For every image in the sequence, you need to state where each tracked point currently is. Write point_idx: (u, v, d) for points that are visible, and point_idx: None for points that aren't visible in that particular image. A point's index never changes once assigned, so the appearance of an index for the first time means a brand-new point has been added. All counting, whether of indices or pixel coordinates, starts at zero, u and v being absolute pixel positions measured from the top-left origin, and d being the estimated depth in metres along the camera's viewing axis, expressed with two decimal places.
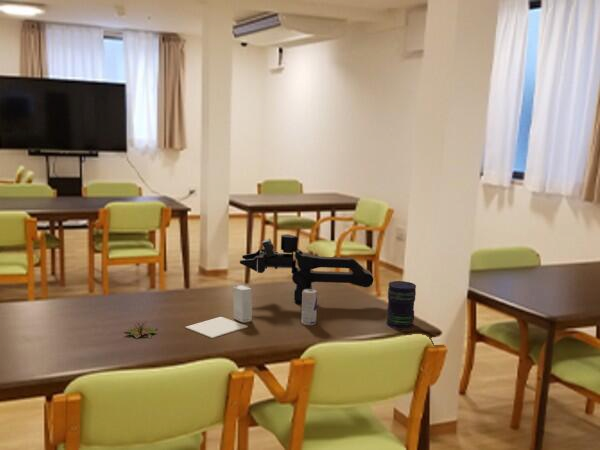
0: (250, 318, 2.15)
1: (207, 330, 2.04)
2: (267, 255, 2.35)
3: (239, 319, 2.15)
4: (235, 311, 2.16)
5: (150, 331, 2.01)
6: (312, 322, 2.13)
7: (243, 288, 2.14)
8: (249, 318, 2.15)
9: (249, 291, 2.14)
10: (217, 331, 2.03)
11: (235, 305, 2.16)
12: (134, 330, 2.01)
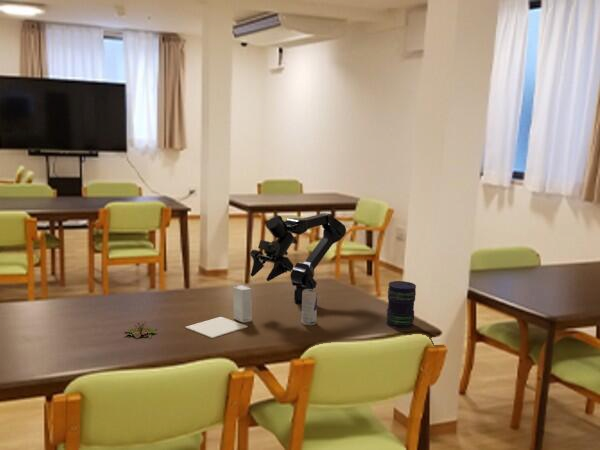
0: (250, 318, 2.15)
1: (207, 330, 2.04)
2: (276, 253, 2.22)
3: (239, 319, 2.15)
4: (235, 311, 2.16)
5: (150, 331, 2.01)
6: (312, 322, 2.13)
7: (243, 288, 2.14)
8: (249, 318, 2.15)
9: (249, 291, 2.14)
10: (217, 331, 2.03)
11: (235, 305, 2.16)
12: (134, 330, 2.01)
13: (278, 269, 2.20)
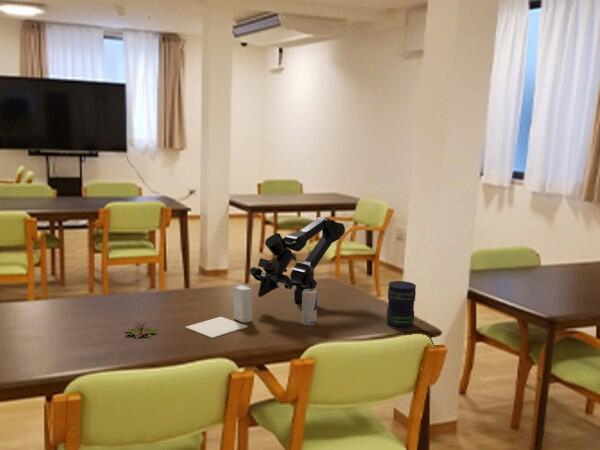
0: (250, 318, 2.15)
1: (207, 330, 2.04)
2: (276, 270, 2.23)
3: (239, 319, 2.15)
4: (235, 311, 2.16)
5: (150, 331, 2.01)
6: (312, 322, 2.13)
7: (243, 288, 2.14)
8: (249, 318, 2.15)
9: (249, 291, 2.14)
10: (217, 331, 2.03)
11: (235, 305, 2.16)
12: (134, 330, 2.01)
13: (270, 285, 2.24)
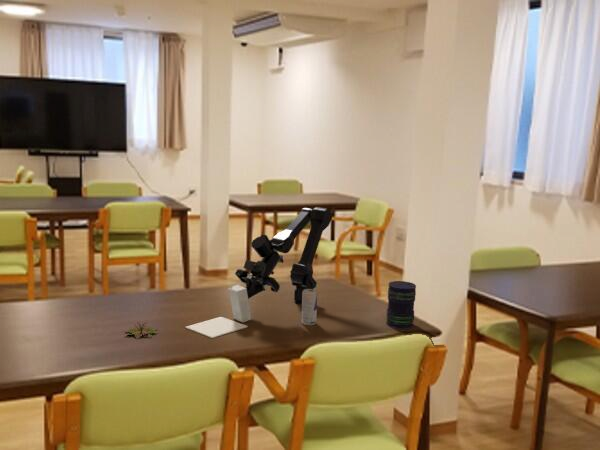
0: (249, 317, 2.15)
1: (207, 330, 2.04)
2: (262, 273, 2.17)
3: (239, 319, 2.15)
4: (234, 311, 2.16)
5: (150, 331, 2.01)
6: (312, 322, 2.13)
7: (238, 289, 2.12)
8: (248, 317, 2.15)
9: (244, 291, 2.12)
10: (217, 331, 2.03)
11: (233, 306, 2.15)
12: (134, 330, 2.01)
13: (256, 287, 2.18)
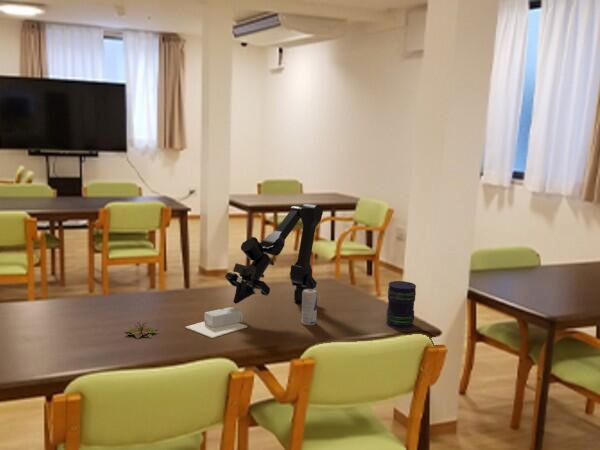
0: (240, 313, 2.12)
1: (207, 330, 2.04)
2: (252, 276, 2.14)
3: None
4: None
5: (151, 331, 2.01)
6: (312, 322, 2.13)
7: (210, 322, 2.07)
8: (240, 314, 2.12)
9: (215, 318, 2.06)
10: (217, 331, 2.03)
11: None
12: (134, 330, 2.01)
13: (246, 291, 2.15)
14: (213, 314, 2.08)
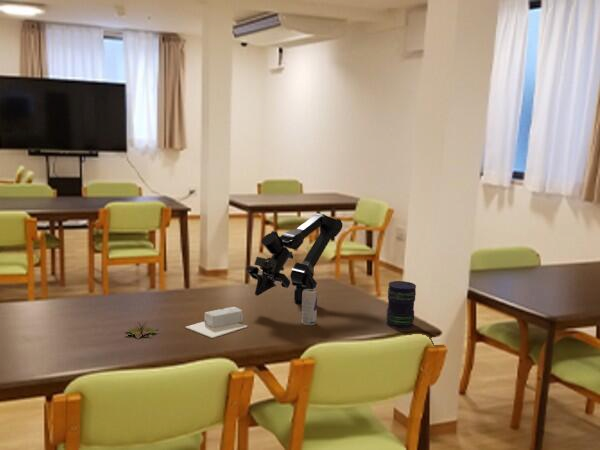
0: (240, 313, 2.12)
1: (207, 330, 2.04)
2: (273, 269, 2.21)
3: None
4: None
5: (151, 331, 2.01)
6: (312, 322, 2.13)
7: (210, 322, 2.07)
8: (240, 314, 2.12)
9: (215, 318, 2.06)
10: (217, 331, 2.03)
11: None
12: (135, 330, 2.01)
13: (267, 283, 2.22)
14: (213, 314, 2.08)
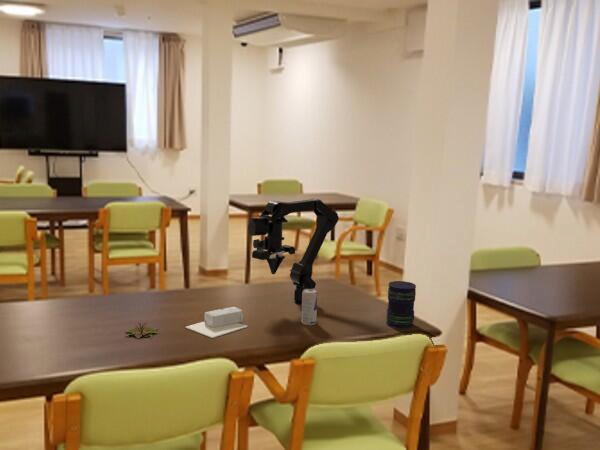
0: (240, 313, 2.12)
1: (207, 330, 2.04)
2: (264, 246, 2.29)
3: None
4: None
5: (151, 331, 2.01)
6: (312, 322, 2.13)
7: (210, 322, 2.07)
8: (240, 314, 2.12)
9: (215, 318, 2.06)
10: (217, 331, 2.03)
11: None
12: (135, 330, 2.01)
13: (272, 260, 2.29)
14: (213, 314, 2.08)
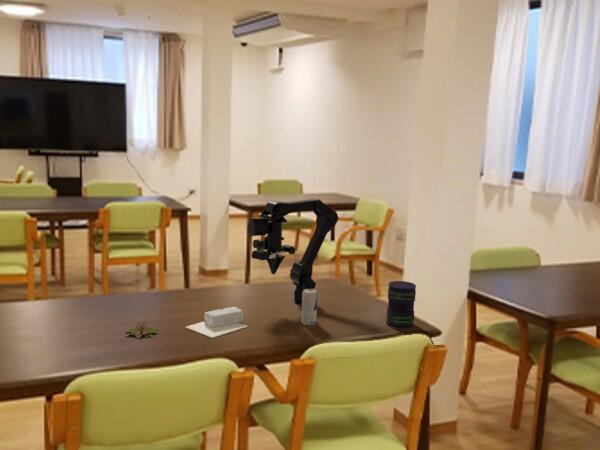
0: (240, 313, 2.12)
1: (207, 330, 2.04)
2: (264, 247, 2.29)
3: None
4: None
5: (151, 331, 2.01)
6: (312, 322, 2.13)
7: (210, 322, 2.07)
8: (240, 314, 2.12)
9: (215, 318, 2.06)
10: (217, 331, 2.03)
11: None
12: (135, 330, 2.01)
13: (272, 260, 2.29)
14: (213, 314, 2.08)
